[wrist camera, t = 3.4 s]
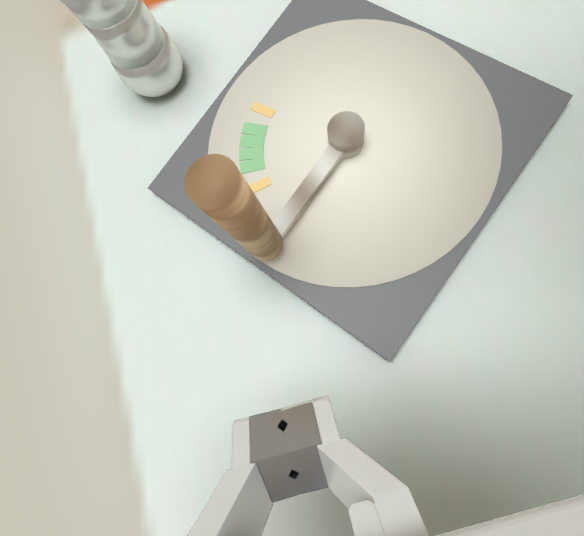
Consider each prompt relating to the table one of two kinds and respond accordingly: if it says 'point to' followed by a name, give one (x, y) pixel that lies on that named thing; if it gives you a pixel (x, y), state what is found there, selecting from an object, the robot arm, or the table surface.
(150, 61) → the plastic bottle
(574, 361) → the table surface
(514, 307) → the table surface
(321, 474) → the robot arm
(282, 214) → the needle lever
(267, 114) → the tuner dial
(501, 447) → the table surface
